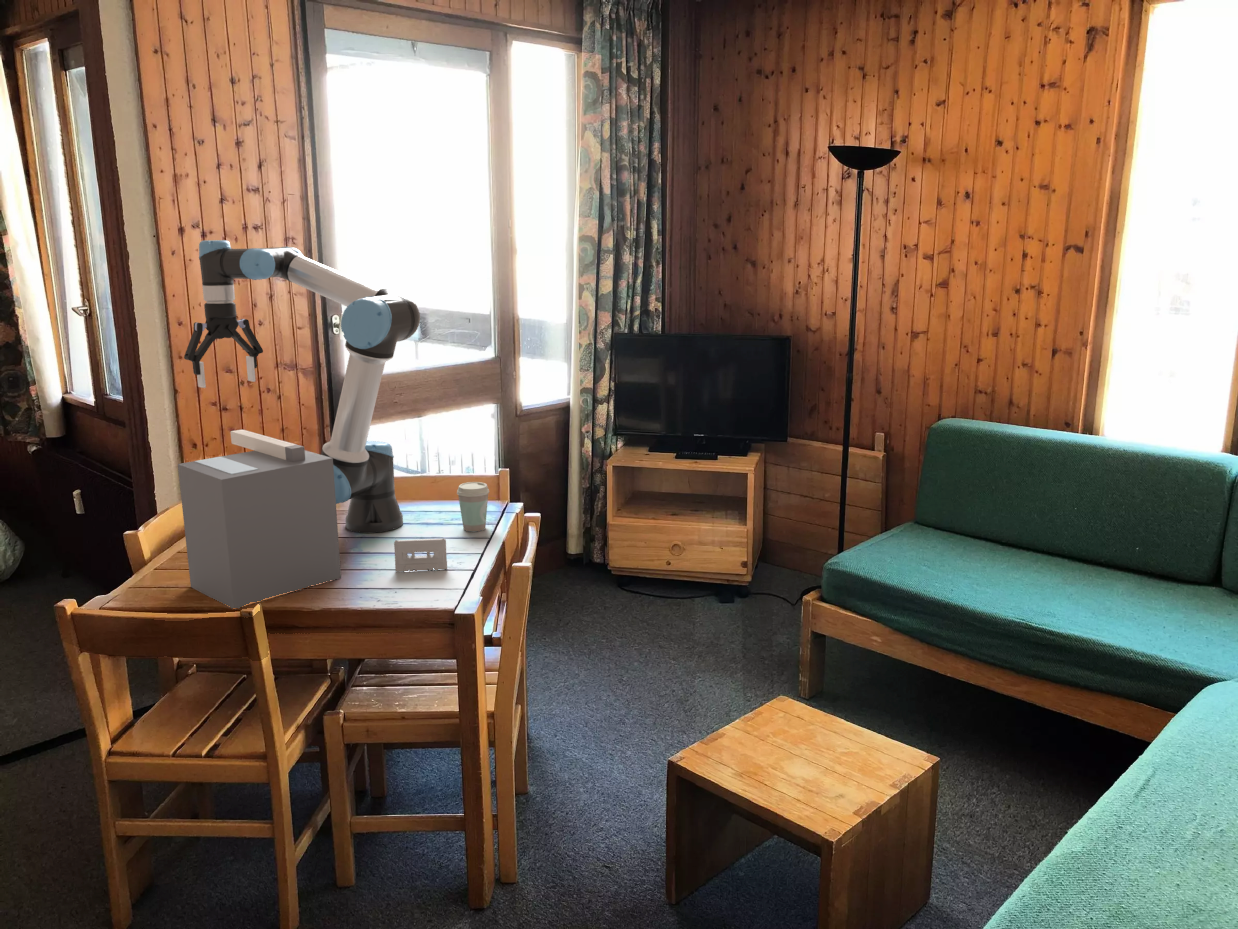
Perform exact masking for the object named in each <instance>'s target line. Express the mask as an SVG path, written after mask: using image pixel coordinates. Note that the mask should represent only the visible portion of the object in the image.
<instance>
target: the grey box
mask: <svg viewBox="0 0 1238 929" xmlns="http://www.w3.org/2000/svg"><path fill="white" fill-rule="evenodd" d="M177 471H178V481H179V488H180V498H181V506H182V507H181V508H182V518H183V527H184V536H185V544H186V545H185V546H186V554H187V555H186V556H187V564H188V573H189V574H188V575H189V581H190V582H189V584H190V588H192V589H193V590H196V591H198V592H200V593H201V594H203V595H205V596H207V597H209V598H211V599H212V598H213V600H214V599H215V600H214V601H216V600H217V602H218V601H219V602H218V603H220V602H222V603H223V604H222V603H221V604H222V605H224V604H226V605H228V606H230V607H231V608H230V607H229V608H230V609H232V608H238V609H241V608H240V607H242V606H244V605H246V604H249V603H250V602H257V601H261V600H263V599H265V598H269V597H272V596H276V595H279V594H283V593H287V592H290V591H295V590H298V589H302V588H306V587H308V586H311V585H316V584H319V583H323V582H326V581H330V580H334V581H336V580H335V579H337V580H340V579H339V578H341V579H342V570H341V557H340V541H339V529H338V528H339V526H338V514H337V504H336V497H335V483H334V468H333V458H330V457H327V456H323V455H321V454H319V453H316V452H314V451H313V452H312V451H309V450H306V449H305V460H302V461H297V462H291V461H288V460H284V459H281V458H278V457H274V456H271V455H268V454H264V453H261V452H258V451H254V450H251V451H245V452H239V453H234V454H228V455H227V454H226V455H223V456H215V457H210V458H205V459H200V460H199V459H198V460H194V461H188V462H183V463H177ZM330 582H331V581H330ZM226 605H225V606H226ZM228 606H227V607H228ZM242 608H243V607H242Z"/></svg>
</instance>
